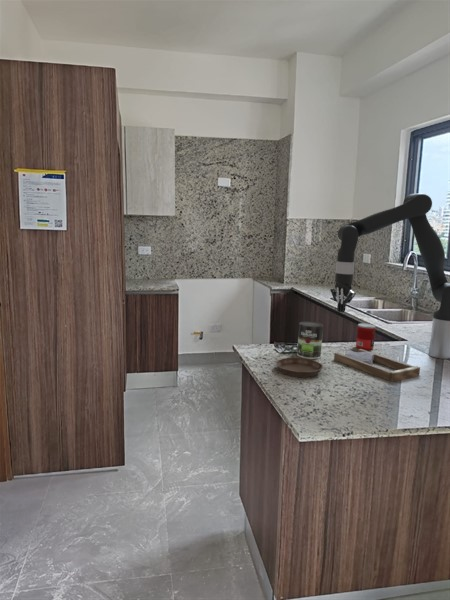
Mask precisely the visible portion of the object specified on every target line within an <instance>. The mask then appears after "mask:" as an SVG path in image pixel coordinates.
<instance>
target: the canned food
mask: <svg viewBox="0 0 450 600" xmlns="http://www.w3.org/2000/svg"><path fill="white" fill-rule="evenodd" d="M375 335H376V325H375V324H370V323H363V322H362V323H358V324H357V332H356V338H355V339H356V340H355V347H356V348H357V349H363V350H366V351H372V350H374V348H375V347H374V345H375V338H376V337H375Z"/></svg>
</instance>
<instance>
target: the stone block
mask: <svg viewBox="0 0 450 600" xmlns="http://www.w3.org/2000/svg"><path fill="white" fill-rule="evenodd" d="M370 352H371V351H369V352H358V351H353V350H352V349H351V350H347V351H346V352H345V354H344V355H345V356H348V357H351V358H354V359H357V360H359V361H362V362H365V363H368V364H371V365H373V364H374V361H373V359H374V355H373V354H372V353H373V352H372V353H370ZM373 366H374V365H373Z"/></svg>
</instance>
